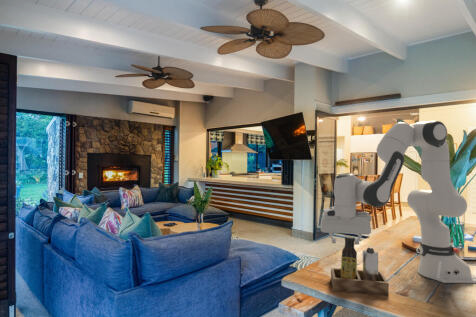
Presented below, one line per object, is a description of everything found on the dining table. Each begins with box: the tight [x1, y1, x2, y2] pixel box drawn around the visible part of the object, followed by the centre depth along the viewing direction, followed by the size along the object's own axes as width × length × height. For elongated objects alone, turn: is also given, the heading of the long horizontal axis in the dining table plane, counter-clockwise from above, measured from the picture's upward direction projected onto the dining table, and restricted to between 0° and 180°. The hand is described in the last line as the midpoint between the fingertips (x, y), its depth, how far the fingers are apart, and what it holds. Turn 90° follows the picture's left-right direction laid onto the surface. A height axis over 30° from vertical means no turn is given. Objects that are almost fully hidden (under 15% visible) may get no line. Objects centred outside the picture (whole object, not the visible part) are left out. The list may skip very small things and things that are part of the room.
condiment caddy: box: [330, 267, 390, 296], centre depth 125 cm, size 21×12×5 cm, turn 77°
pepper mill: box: [362, 246, 379, 281], centre depth 124 cm, size 6×6×16 cm
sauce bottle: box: [340, 235, 358, 279], centre depth 127 cm, size 7×6×20 cm
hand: (345, 243), depth 126 cm, fingers open, 8 cm apart
